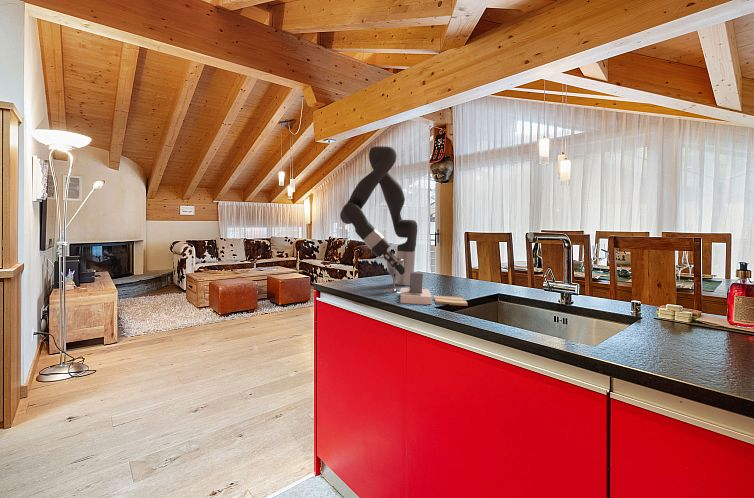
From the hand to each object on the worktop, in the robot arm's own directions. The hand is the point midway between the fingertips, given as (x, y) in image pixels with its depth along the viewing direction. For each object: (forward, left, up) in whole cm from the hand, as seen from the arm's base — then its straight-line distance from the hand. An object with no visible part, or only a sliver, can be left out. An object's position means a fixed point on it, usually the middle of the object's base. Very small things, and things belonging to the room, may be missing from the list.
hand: (403, 272), depth 152 cm
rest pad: (+1, +19, -11) cm, 22 cm away
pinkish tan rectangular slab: (0, +5, -11) cm, 12 cm away
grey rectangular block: (0, +5, -11) cm, 12 cm away
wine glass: (-16, -4, -11) cm, 20 cm away
